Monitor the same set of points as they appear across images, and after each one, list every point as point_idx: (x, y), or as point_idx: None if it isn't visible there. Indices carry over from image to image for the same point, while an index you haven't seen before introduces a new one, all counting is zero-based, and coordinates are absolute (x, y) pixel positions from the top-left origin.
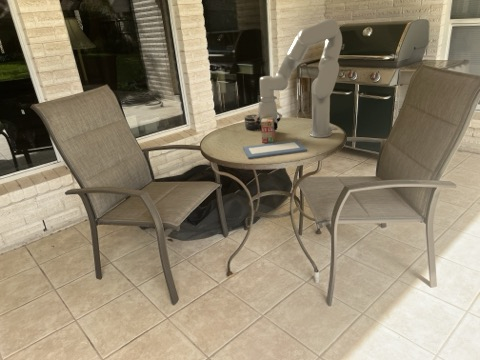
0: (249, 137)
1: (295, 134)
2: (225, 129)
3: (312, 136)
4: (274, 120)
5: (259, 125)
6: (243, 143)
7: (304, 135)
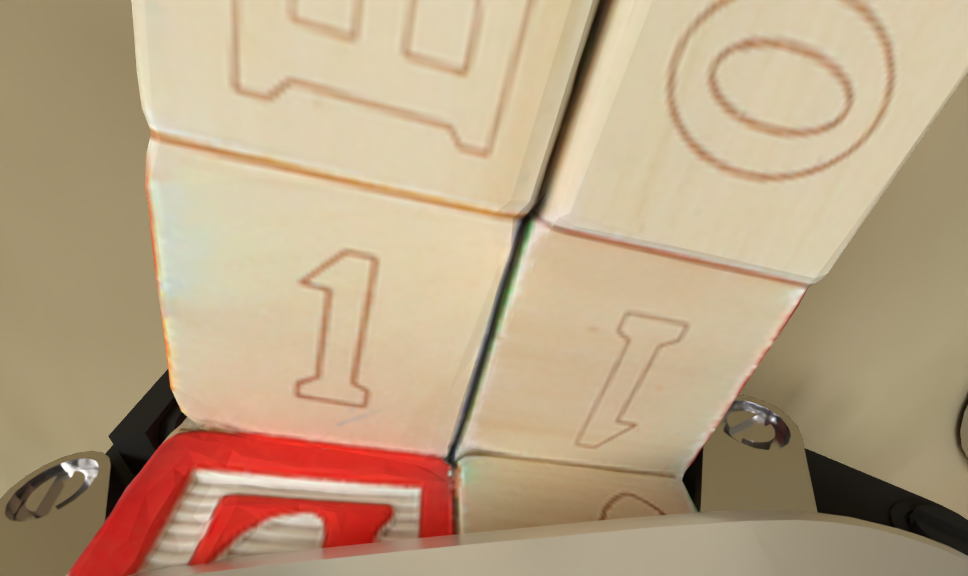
0: (29, 157)
1: (876, 267)
2: None
3: (962, 433)
4: (704, 489)
5: (117, 460)
6: (19, 427)
7: (936, 347)
